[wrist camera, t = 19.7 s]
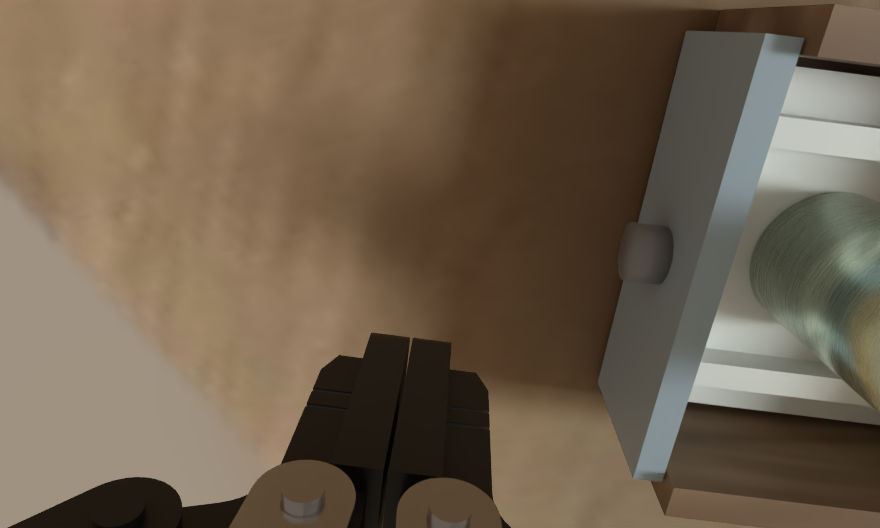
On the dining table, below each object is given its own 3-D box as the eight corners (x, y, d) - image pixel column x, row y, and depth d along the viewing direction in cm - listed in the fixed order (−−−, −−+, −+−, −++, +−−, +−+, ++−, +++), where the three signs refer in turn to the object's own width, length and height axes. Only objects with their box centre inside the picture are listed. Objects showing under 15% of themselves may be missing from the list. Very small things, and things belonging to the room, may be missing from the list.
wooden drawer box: (720, 9, 21) (834, 4, 15) (1060, 53, 21) (1325, 66, 15) (616, 397, 27) (664, 515, 20) (882, 429, 27) (1014, 558, 21)
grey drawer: (652, 26, 21) (719, 27, 15) (1020, 73, 21) (1219, 91, 16) (570, 379, 26) (598, 474, 21) (865, 415, 26) (971, 519, 21)
